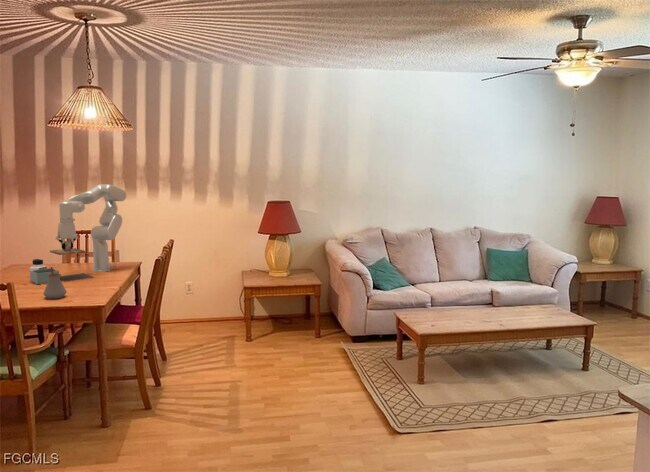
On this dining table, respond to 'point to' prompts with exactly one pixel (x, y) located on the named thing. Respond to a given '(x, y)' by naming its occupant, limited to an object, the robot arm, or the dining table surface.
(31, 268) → the medicine bottle
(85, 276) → the rubber mat
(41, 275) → the grey ceramic box
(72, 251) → the walnut lid
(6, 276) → the dining table surface
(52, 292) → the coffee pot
